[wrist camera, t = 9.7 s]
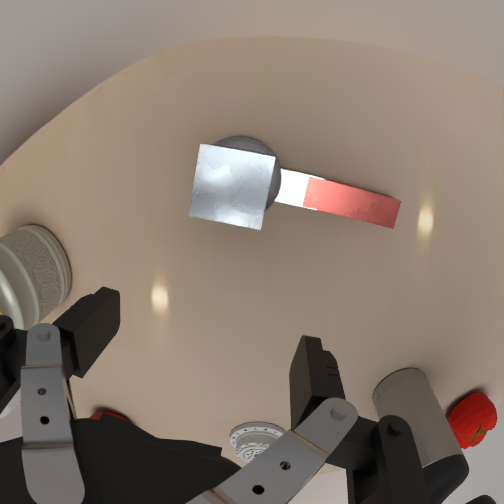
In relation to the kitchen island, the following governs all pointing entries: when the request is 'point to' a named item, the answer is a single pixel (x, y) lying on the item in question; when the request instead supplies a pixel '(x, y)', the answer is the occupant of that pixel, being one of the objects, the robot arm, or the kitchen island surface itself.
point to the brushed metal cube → (231, 185)
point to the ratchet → (321, 191)
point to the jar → (32, 275)
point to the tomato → (472, 419)
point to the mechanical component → (254, 439)
